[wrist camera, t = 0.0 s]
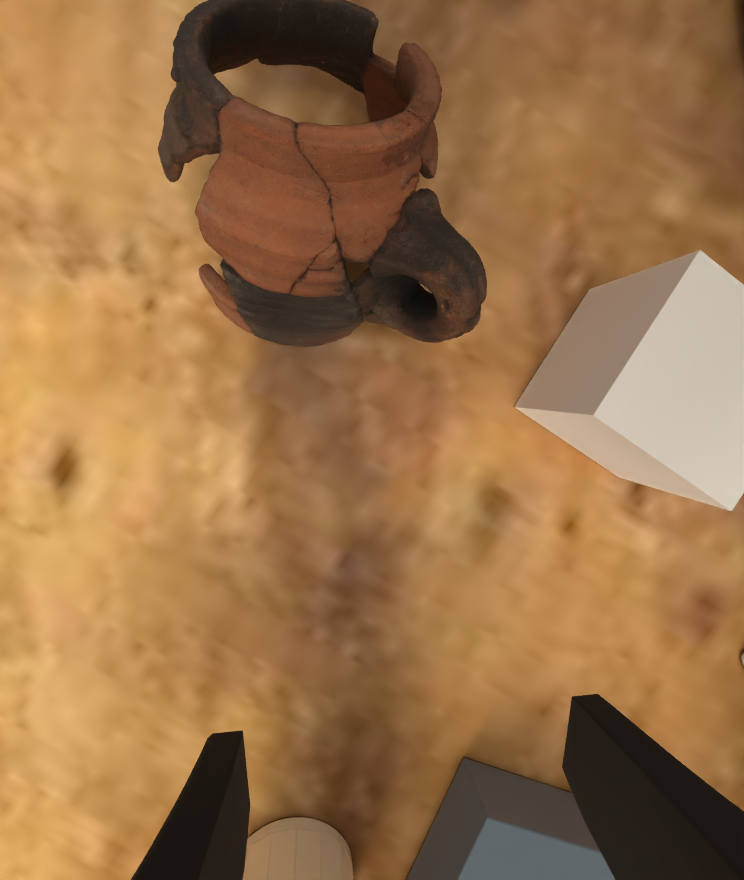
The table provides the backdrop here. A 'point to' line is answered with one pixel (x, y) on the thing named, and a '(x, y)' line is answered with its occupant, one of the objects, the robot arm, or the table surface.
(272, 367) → the table surface
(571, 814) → the riser block
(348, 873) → the cup
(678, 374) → the white cube
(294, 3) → the brown hollow looped part
